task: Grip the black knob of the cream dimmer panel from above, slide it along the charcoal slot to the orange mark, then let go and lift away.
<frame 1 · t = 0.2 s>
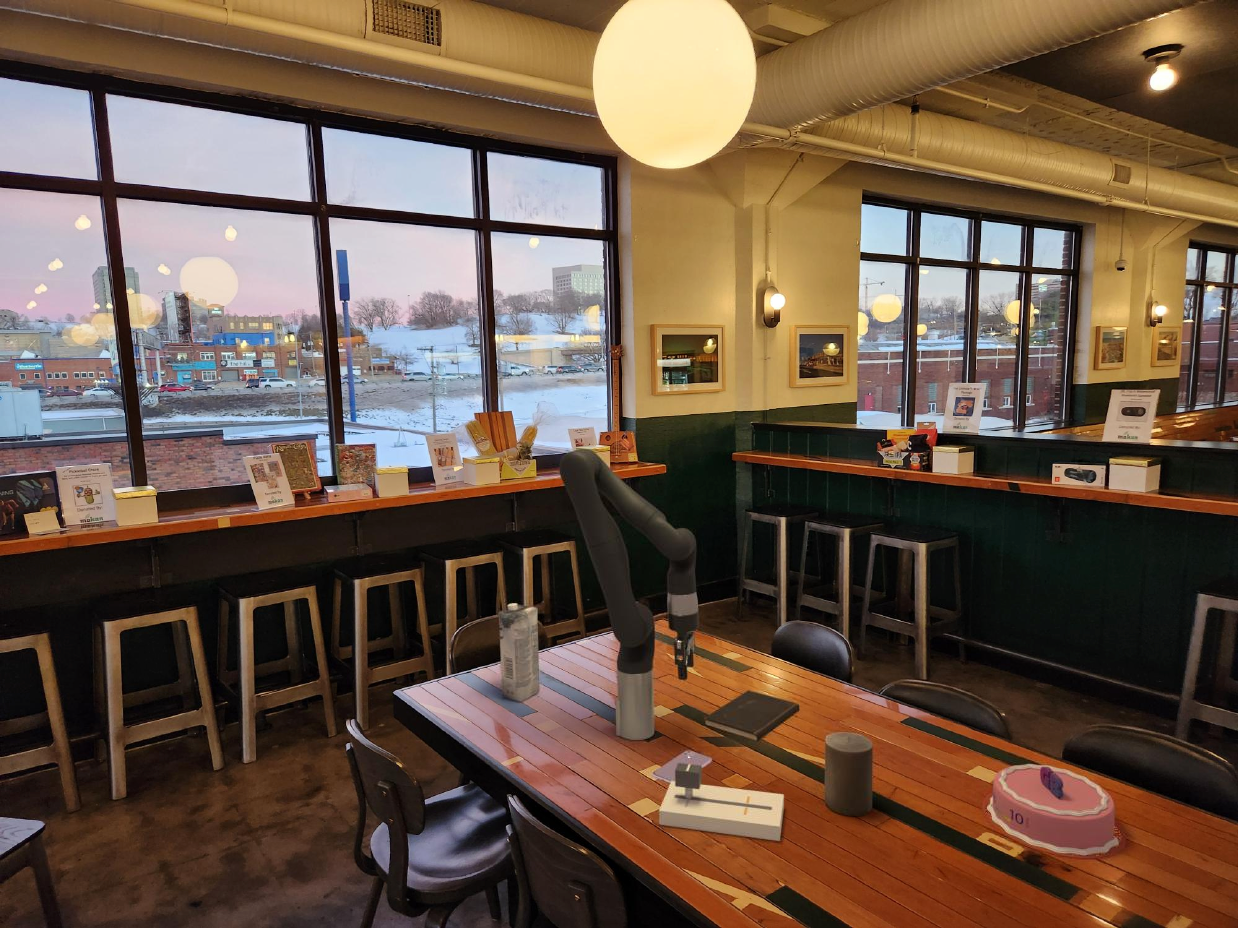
hand: (686, 672, 189), 17 cm above the table, tool pointing down, fingers open, 8 cm apart
hardcover book: (752, 719, 203), on the table
pillar candle: (848, 804, 160), on the table
fader: (688, 781, 157), point 7 cm above the table, slide at 2.0 cm
cake: (1051, 823, 152), on the table
juice carton: (521, 695, 221), on the table
dimmer panel: (722, 816, 156), on the table
mobile phone: (682, 769, 177), on the table
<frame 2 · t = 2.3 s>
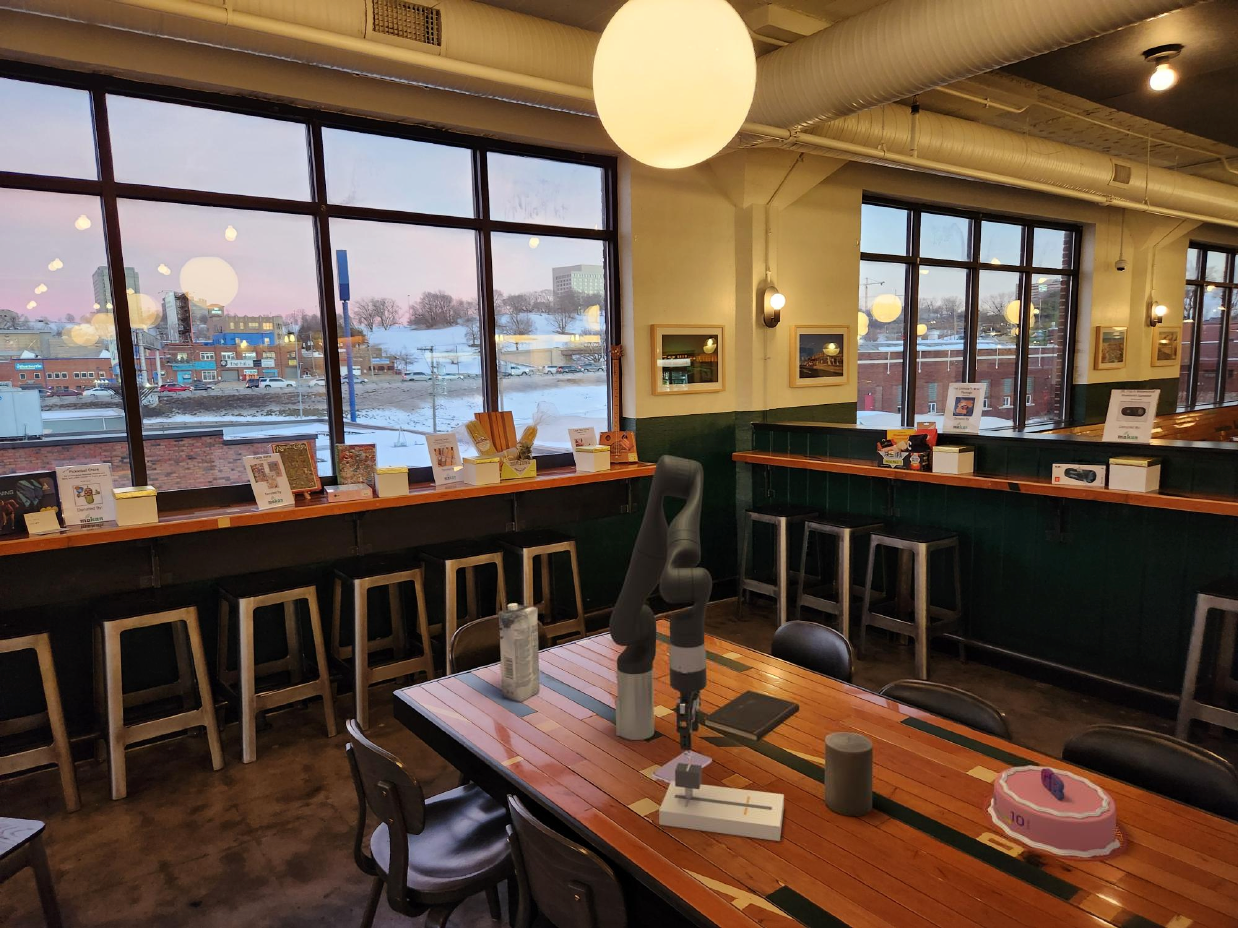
hand: (689, 739, 157), 16 cm above the table, tool pointing down, fingers open, 8 cm apart
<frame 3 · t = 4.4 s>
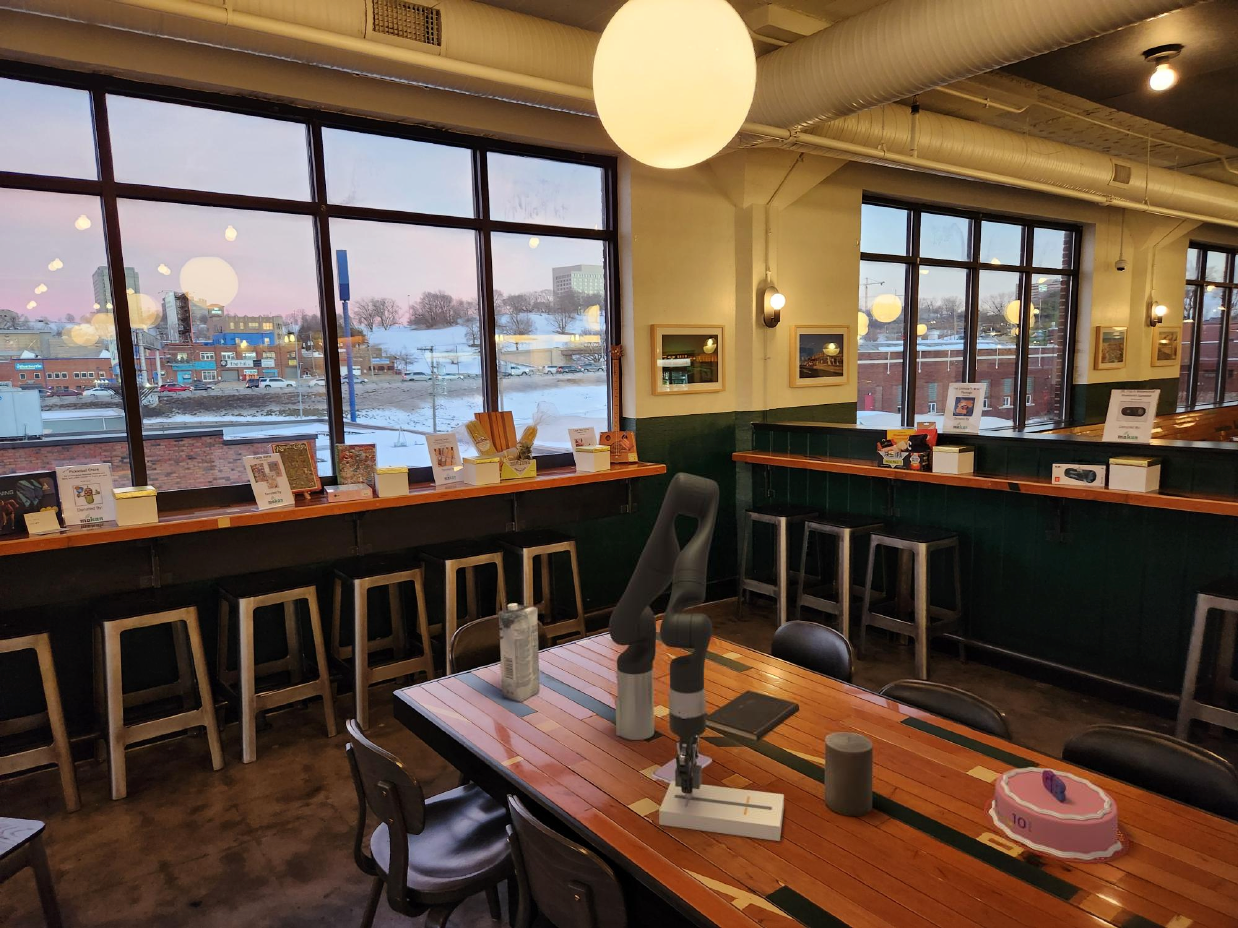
hand: (688, 787, 157), 5 cm above the table, tool pointing down, fingers closed on fader, 3 cm apart
fader: (688, 781, 157), point 7 cm above the table, slide at 2.0 cm, touching gripper
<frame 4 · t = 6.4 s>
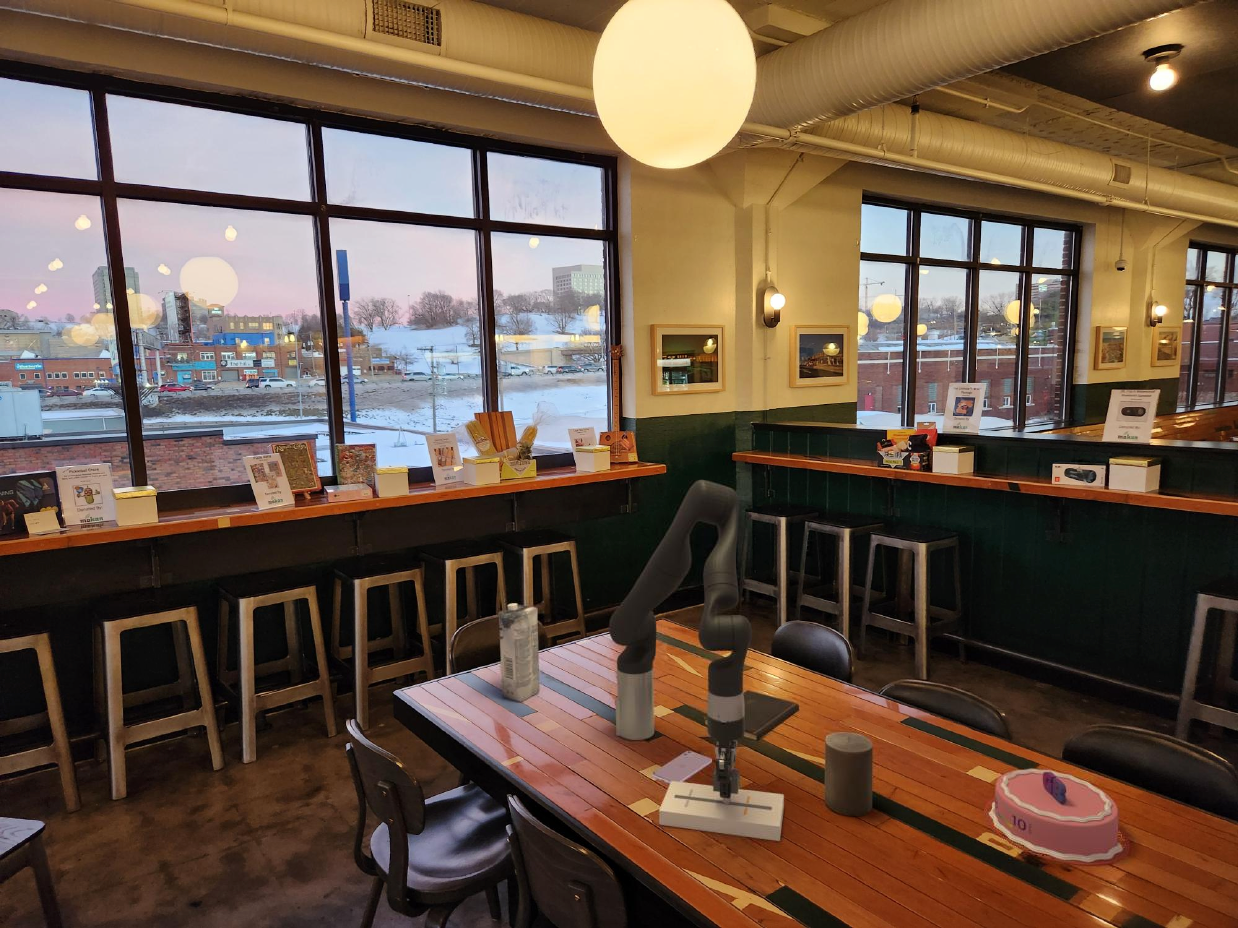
hand: (726, 791, 155), 5 cm above the table, tool pointing down, fingers closed on fader, 3 cm apart
fader: (726, 786, 155), point 7 cm above the table, slide at 9.9 cm, touching gripper
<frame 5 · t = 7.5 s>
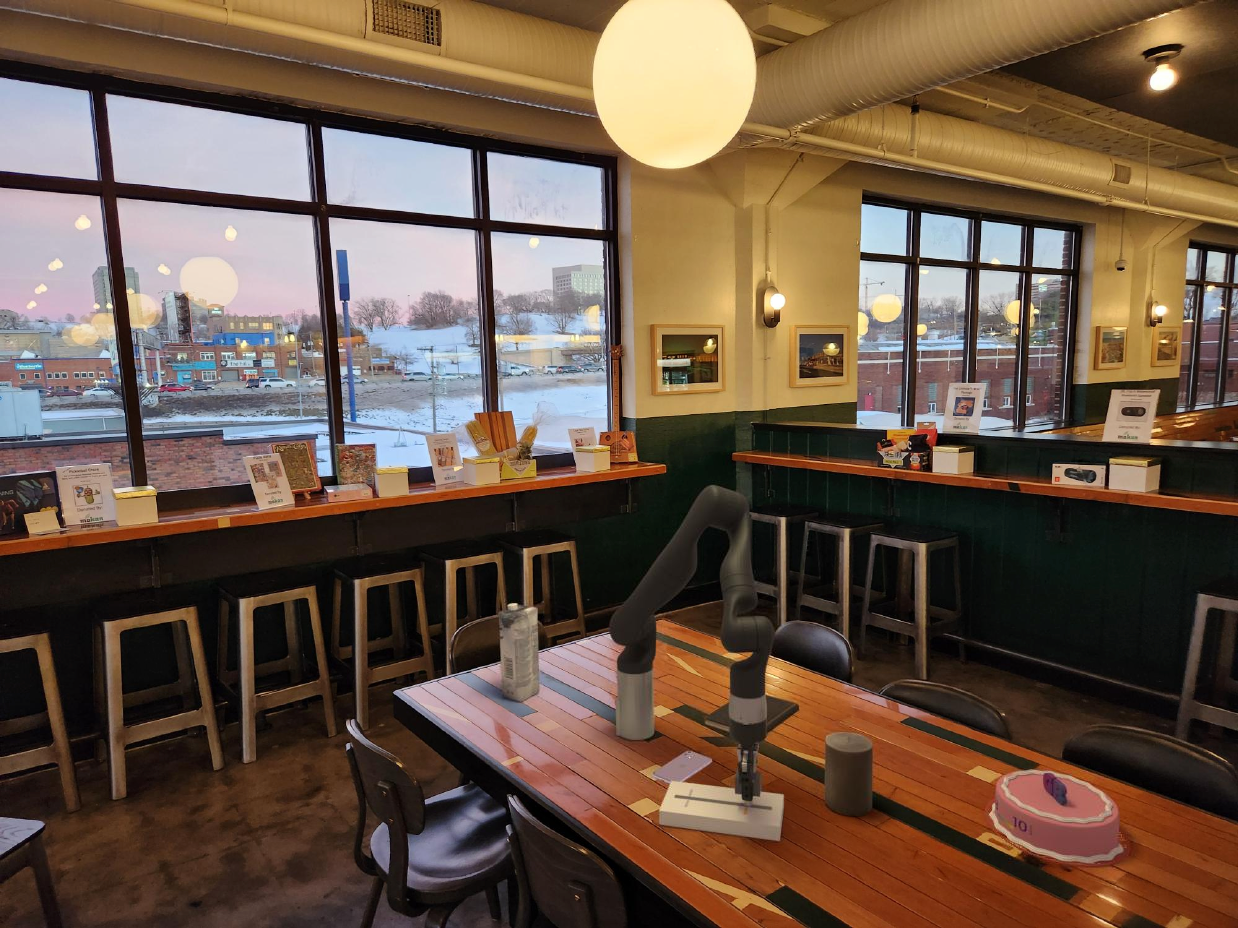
hand: (748, 794, 154), 5 cm above the table, tool pointing down, fingers closed on fader, 3 cm apart
fader: (748, 789, 154), point 6 cm above the table, slide at 14.3 cm, touching gripper
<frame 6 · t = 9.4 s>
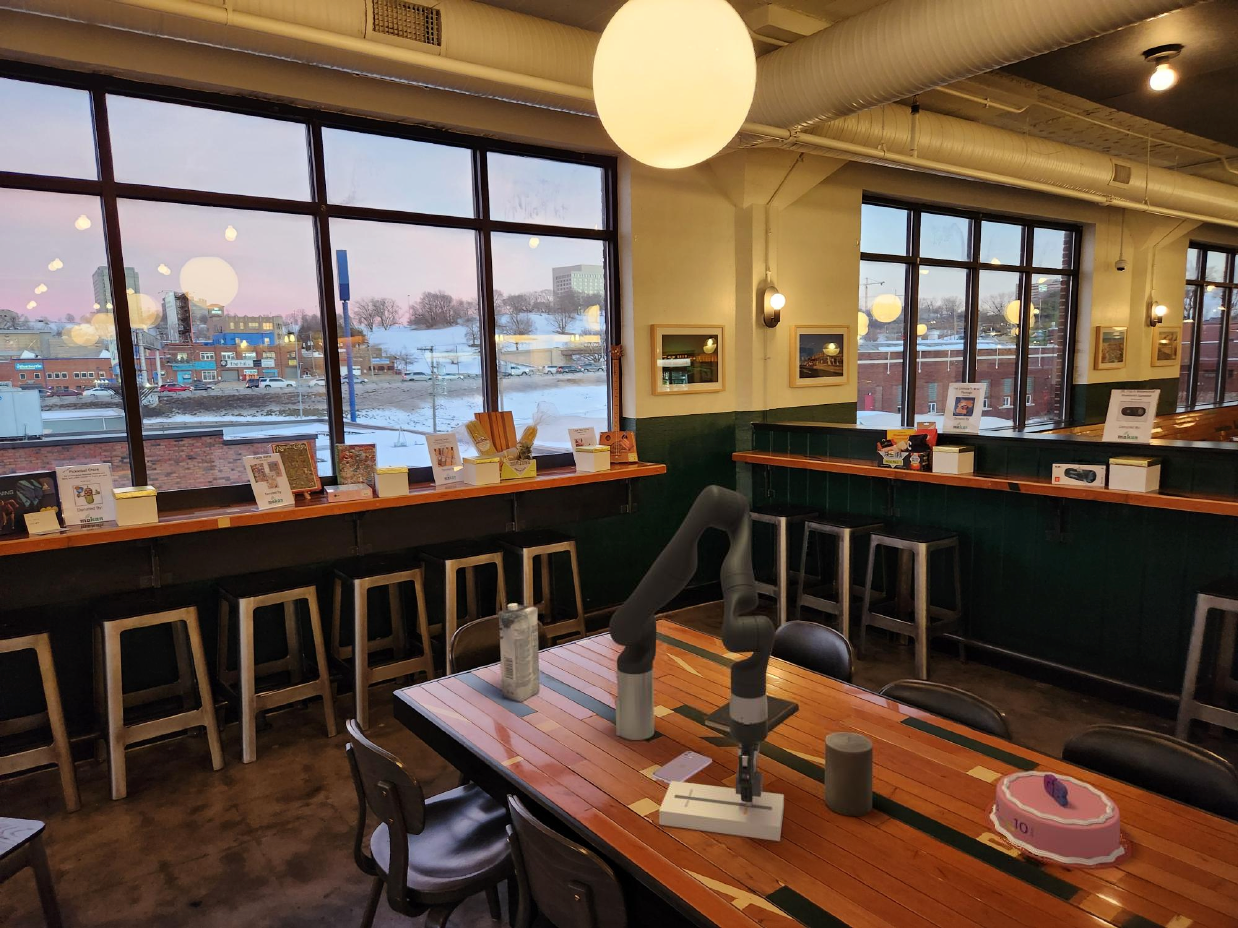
hand: (749, 789, 154), 6 cm above the table, tool pointing down, fingers open, 8 cm apart
fader: (749, 789, 154), point 7 cm above the table, slide at 14.5 cm
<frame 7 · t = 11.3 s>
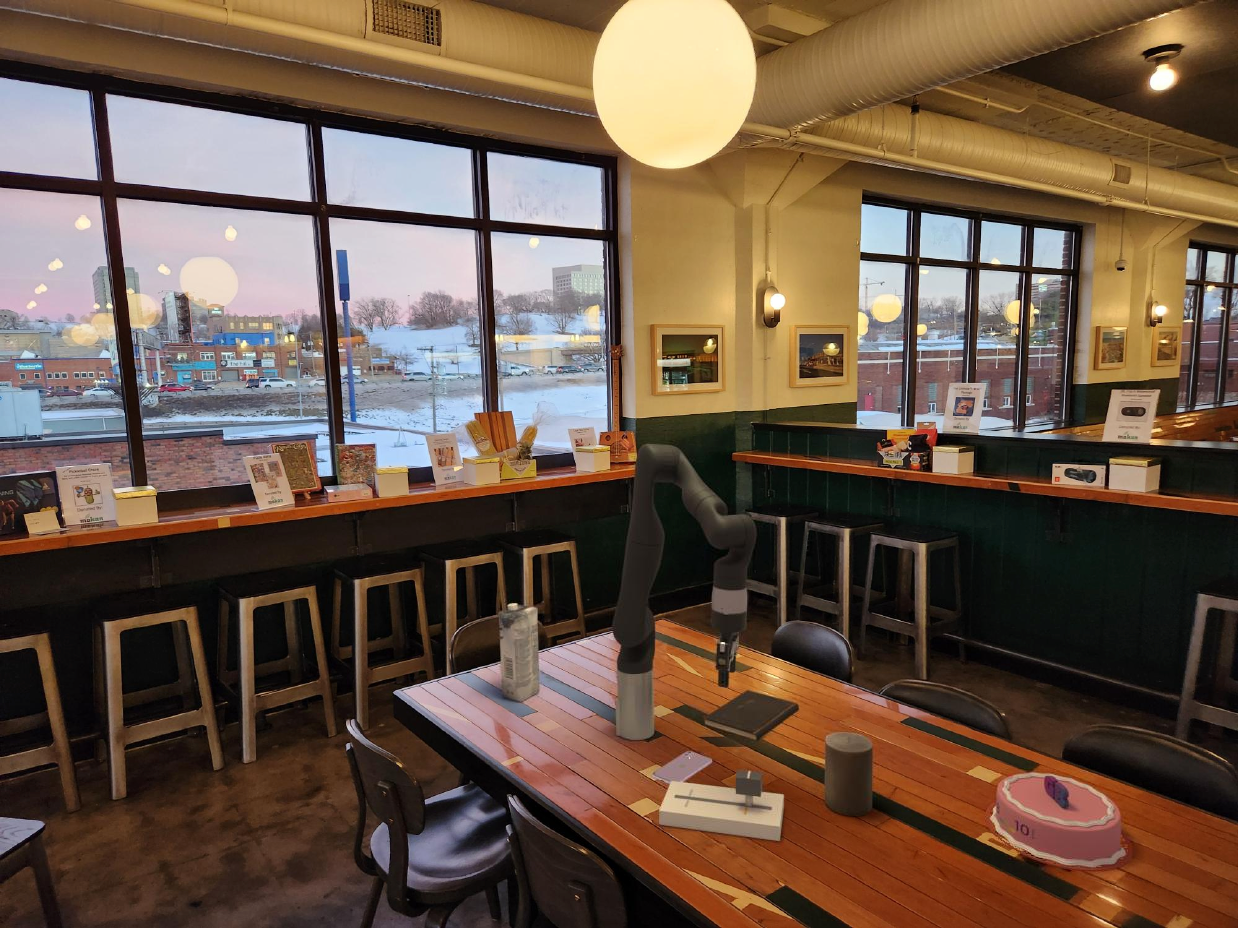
hand: (726, 679, 165), 25 cm above the table, tool pointing down, fingers open, 8 cm apart
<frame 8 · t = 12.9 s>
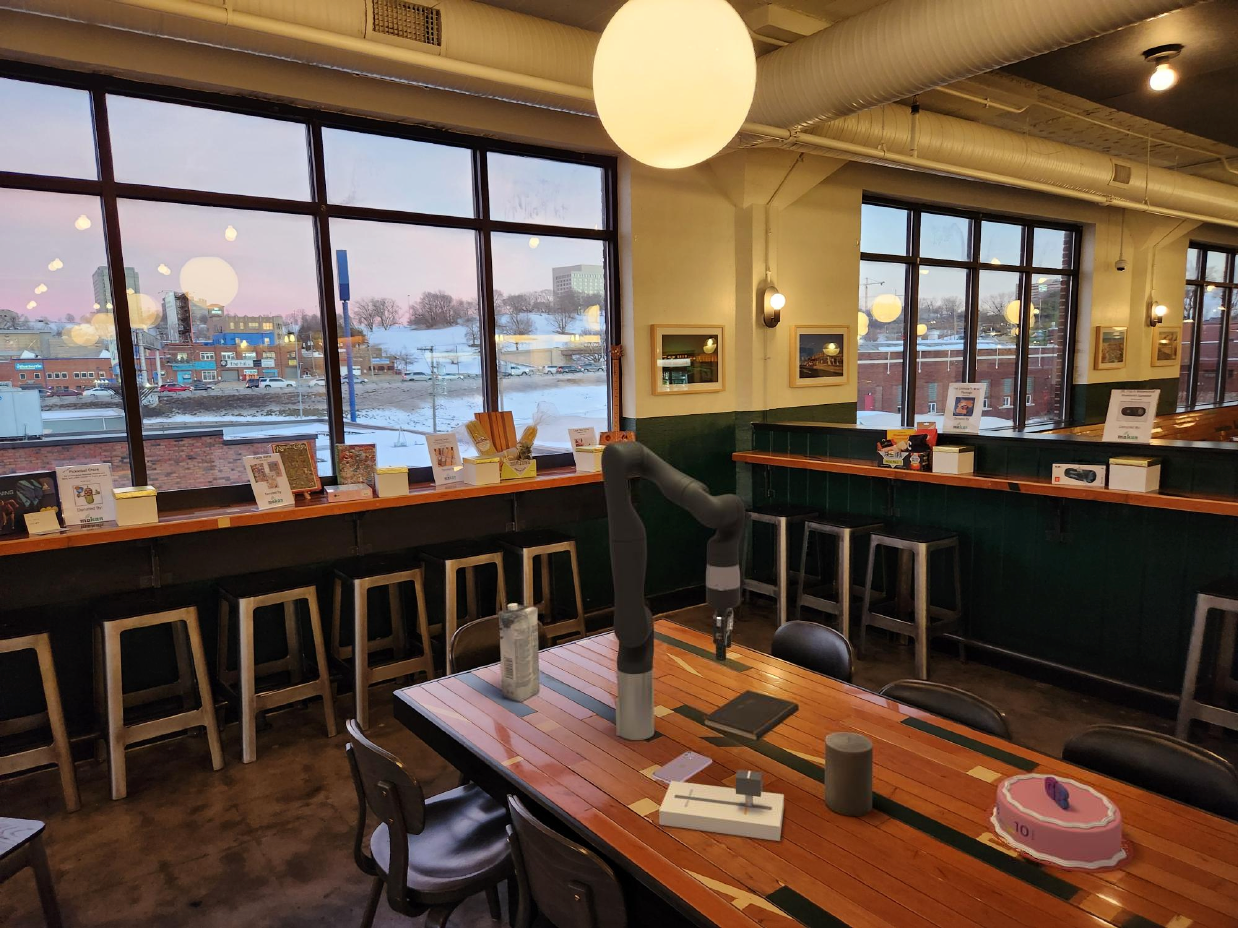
hand: (723, 653, 171), 28 cm above the table, tool pointing down, fingers open, 8 cm apart
at the end: fader slide at 14.5 cm; the gripper is holding nothing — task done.
